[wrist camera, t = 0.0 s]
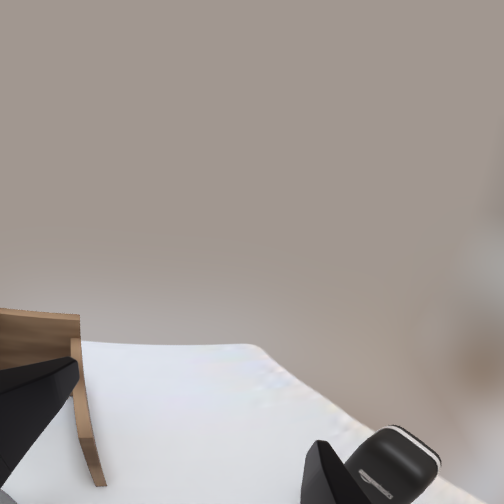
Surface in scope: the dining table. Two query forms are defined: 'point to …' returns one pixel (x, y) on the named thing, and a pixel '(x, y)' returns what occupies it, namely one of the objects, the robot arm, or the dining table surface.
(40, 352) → the open box
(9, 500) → the grey mat
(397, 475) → the battery charger
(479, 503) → the dining table surface
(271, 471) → the dining table surface
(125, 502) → the dining table surface
